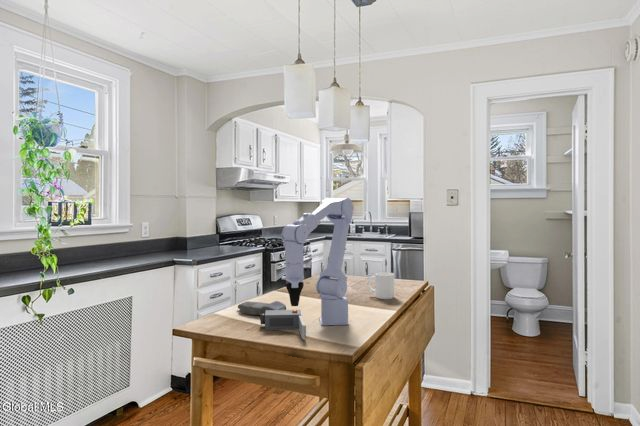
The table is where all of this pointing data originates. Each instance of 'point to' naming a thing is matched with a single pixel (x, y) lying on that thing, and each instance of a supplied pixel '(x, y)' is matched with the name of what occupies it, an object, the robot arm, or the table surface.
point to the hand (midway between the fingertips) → (294, 305)
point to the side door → (302, 328)
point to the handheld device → (260, 307)
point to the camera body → (280, 319)
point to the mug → (382, 285)
